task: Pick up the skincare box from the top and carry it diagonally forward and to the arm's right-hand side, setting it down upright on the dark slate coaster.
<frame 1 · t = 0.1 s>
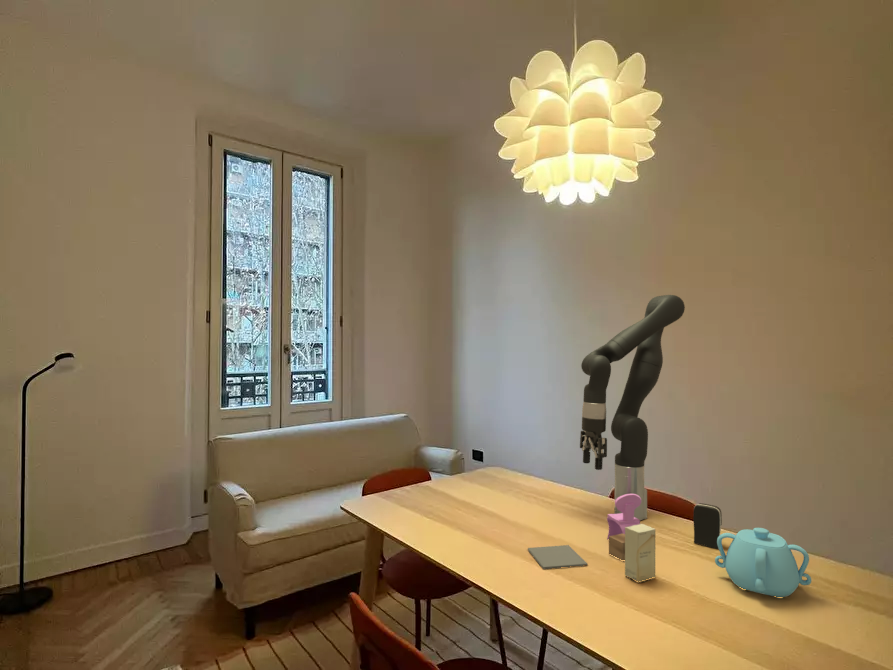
hand: (592, 466, 167), 17 cm above the table, tool pointing down, fingers open, 8 cm apart
toy chair: (624, 544, 147), on the table
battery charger: (707, 545, 146), on the table
decorative pot: (761, 587, 122), on the table
coaster: (556, 557, 137), on the table
walnut block: (622, 556, 138), on the table
skincare box: (640, 578, 126), on the table
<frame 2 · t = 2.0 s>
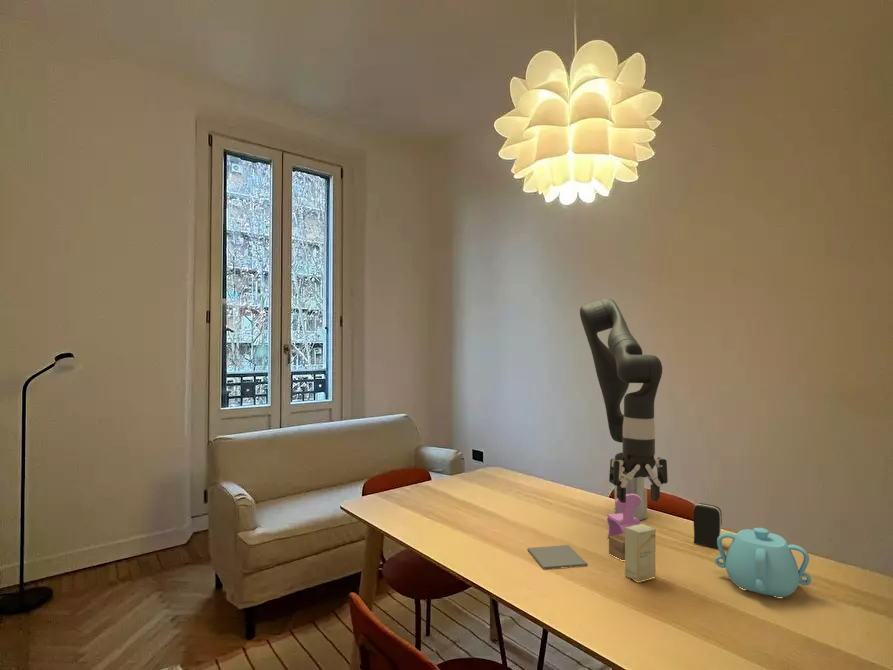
hand: (638, 501, 127), 19 cm above the table, tool pointing down, fingers open, 8 cm apart
nothing on the table moved.
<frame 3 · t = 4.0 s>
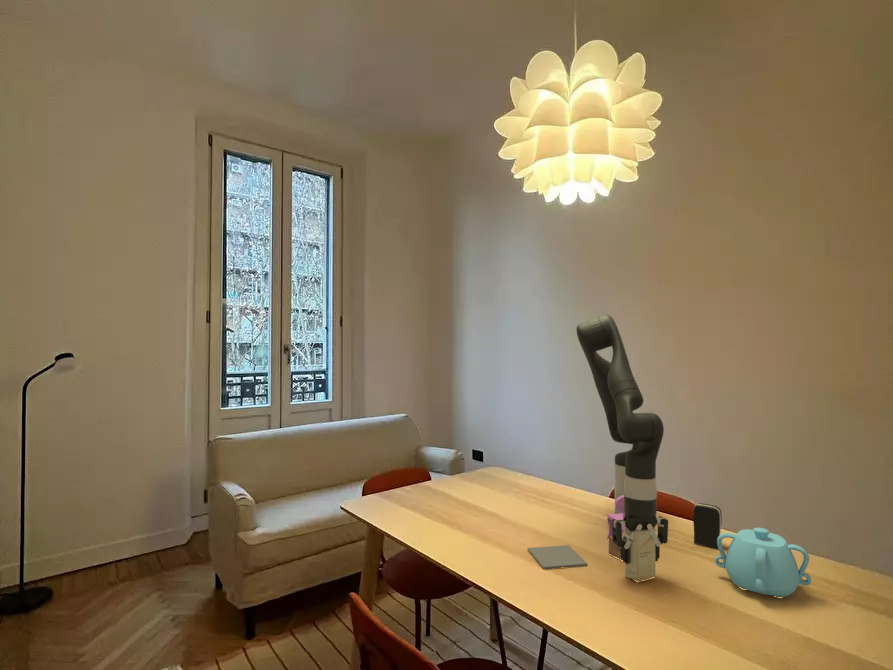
hand: (639, 561, 126), 4 cm above the table, tool pointing down, fingers closed on skincare box, 7 cm apart
skincare box: (640, 578, 126), on the table, touching gripper
everything else where it was.
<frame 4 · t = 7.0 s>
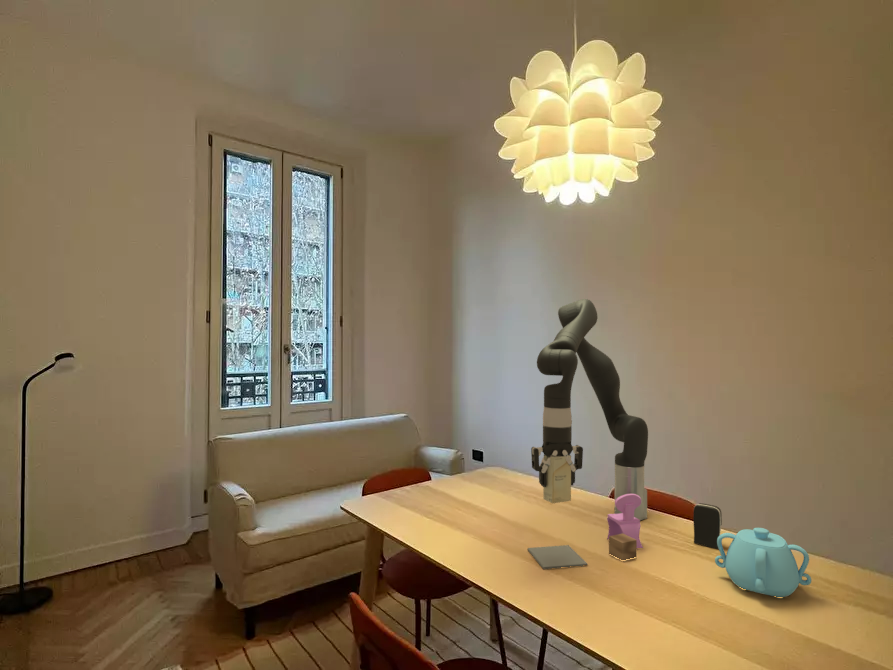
hand: (557, 485, 137), 19 cm above the table, tool pointing down, fingers closed on skincare box, 7 cm apart
skincare box: (557, 500, 137), point 15 cm above the table, touching gripper
everything else where it was.
when the fingers open (5 cm above the table, at t = 10.1 s): skincare box stays where it is, resting on coaster.
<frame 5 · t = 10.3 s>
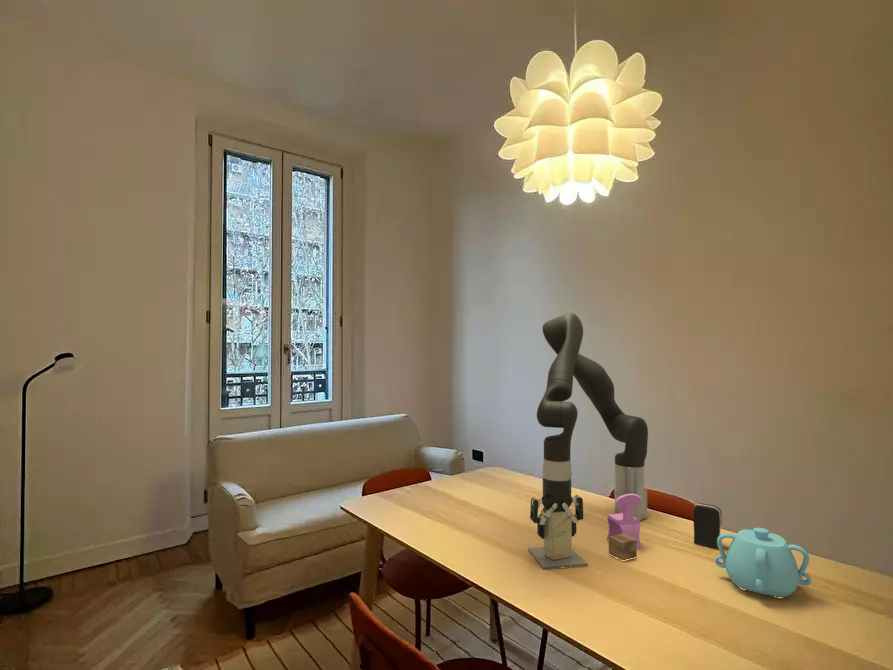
hand: (556, 536, 137), 6 cm above the table, tool pointing down, fingers open, 8 cm apart
skincare box: (557, 556, 137), resting on coaster
everything else where it was.
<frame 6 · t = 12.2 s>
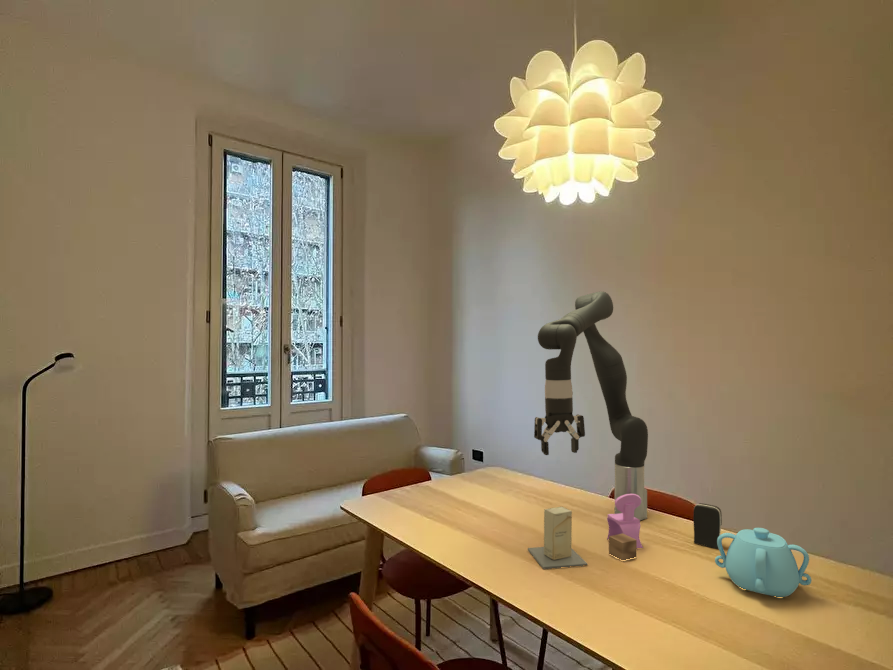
hand: (560, 453, 144), 26 cm above the table, tool pointing down, fingers open, 8 cm apart
nothing on the table moved.
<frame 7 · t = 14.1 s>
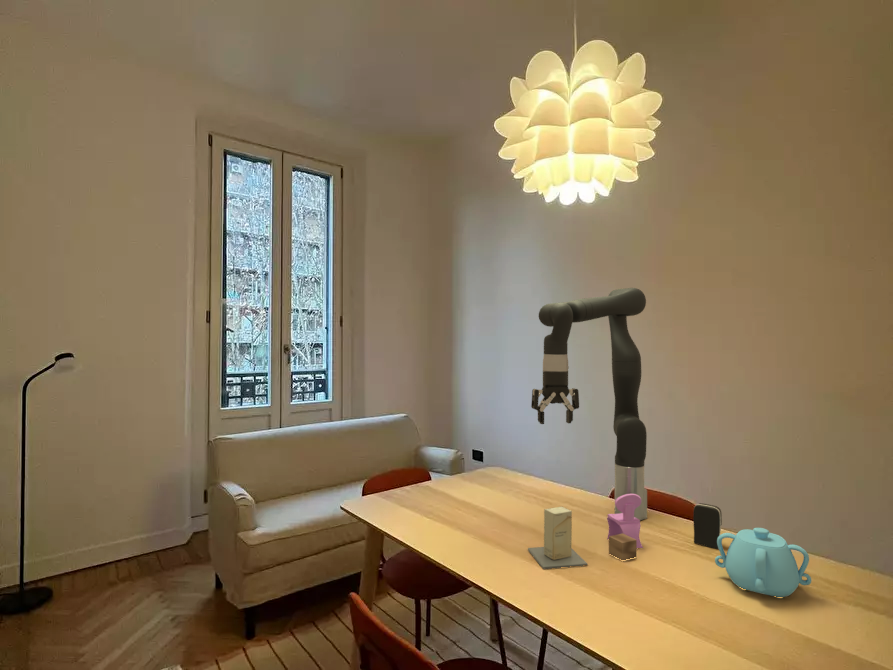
hand: (555, 423, 154), 33 cm above the table, tool pointing down, fingers open, 8 cm apart
nothing on the table moved.
at the end: skincare box inside the target area on the coaster (0.3 cm from its centre), point 0.4 cm above the coaster's base; skincare box tilted 0°; the gripper is holding nothing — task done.
